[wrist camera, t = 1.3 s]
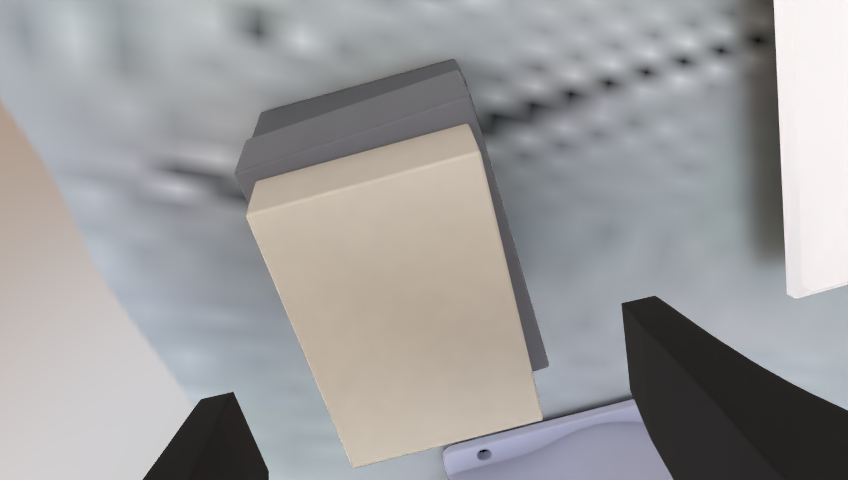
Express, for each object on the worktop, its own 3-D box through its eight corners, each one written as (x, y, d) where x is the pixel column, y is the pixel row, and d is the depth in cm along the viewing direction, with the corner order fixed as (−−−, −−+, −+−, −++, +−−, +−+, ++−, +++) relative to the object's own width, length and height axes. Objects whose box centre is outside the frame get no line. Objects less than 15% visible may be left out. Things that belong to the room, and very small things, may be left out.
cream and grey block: (520, 291, 24) (552, 377, 20) (343, 338, 24) (341, 431, 20) (462, 42, 20) (489, 89, 16) (251, 102, 20) (228, 161, 16)
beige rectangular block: (529, 375, 20) (544, 421, 18) (352, 421, 20) (352, 470, 19) (468, 121, 16) (480, 150, 15) (254, 180, 17) (244, 215, 15)
